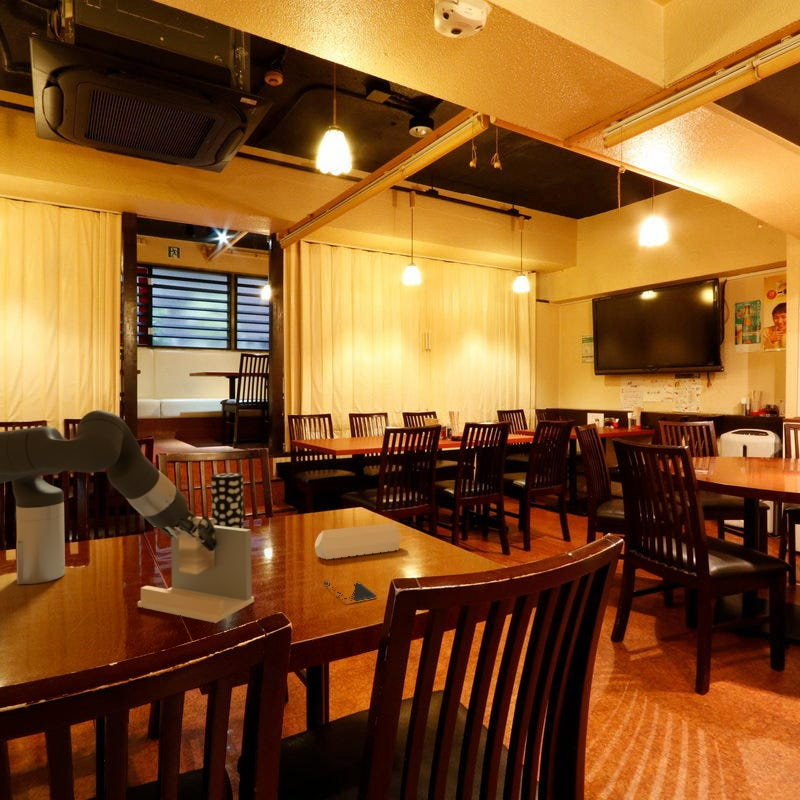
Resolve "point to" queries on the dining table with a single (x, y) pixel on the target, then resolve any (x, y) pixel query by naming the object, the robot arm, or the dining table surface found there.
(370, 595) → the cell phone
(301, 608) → the dining table surface
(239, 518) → the spotted tube
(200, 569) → the birch block
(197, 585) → the cleat board
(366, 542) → the white beveled bar
